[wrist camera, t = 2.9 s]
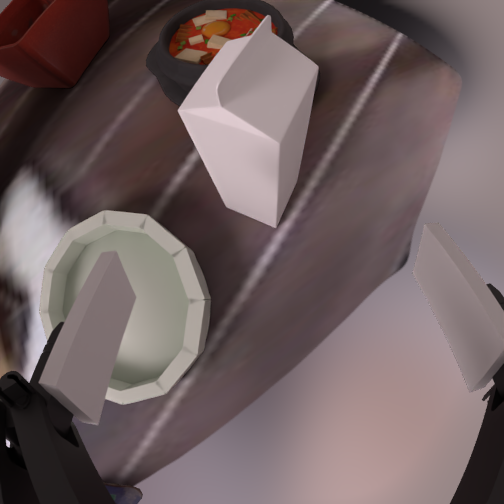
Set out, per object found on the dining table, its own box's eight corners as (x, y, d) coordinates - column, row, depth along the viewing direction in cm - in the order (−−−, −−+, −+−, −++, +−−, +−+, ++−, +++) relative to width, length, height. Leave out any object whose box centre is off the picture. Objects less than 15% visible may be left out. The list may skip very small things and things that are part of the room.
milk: (297, 181, 34) (329, 27, 12) (275, 229, 33) (285, 109, 11) (247, 161, 34) (220, 2, 12) (224, 207, 34) (158, 74, 12)
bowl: (46, 258, 34) (27, 254, 30) (175, 193, 34) (163, 181, 30) (92, 405, 31) (75, 414, 27) (238, 363, 31) (234, 372, 27)
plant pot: (76, 107, 38) (15, 44, 21) (15, 103, 40) (-36, 59, 23) (134, 24, 40) (101, -43, 23) (66, 30, 42) (31, -19, 25)
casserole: (341, 67, 36) (352, 25, 27) (268, 161, 34) (266, 122, 26) (203, 13, 39) (193, -23, 31) (124, 86, 37) (100, 51, 29)
